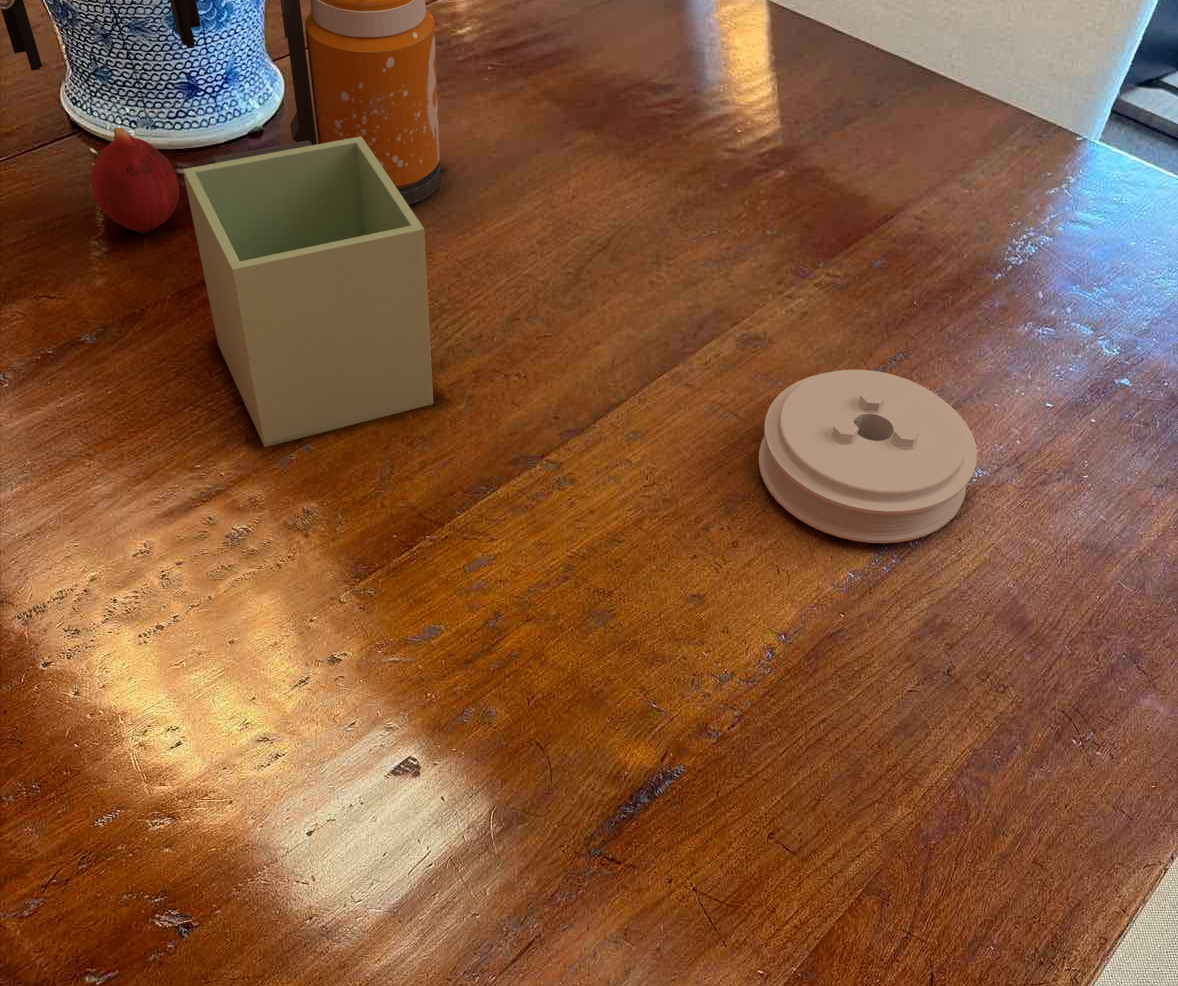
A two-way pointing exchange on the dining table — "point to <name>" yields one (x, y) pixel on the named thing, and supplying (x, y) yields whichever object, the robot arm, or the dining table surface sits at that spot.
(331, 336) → the bin
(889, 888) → the dining table surface
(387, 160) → the canister
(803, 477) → the lid
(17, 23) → the robot arm
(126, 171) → the onion
